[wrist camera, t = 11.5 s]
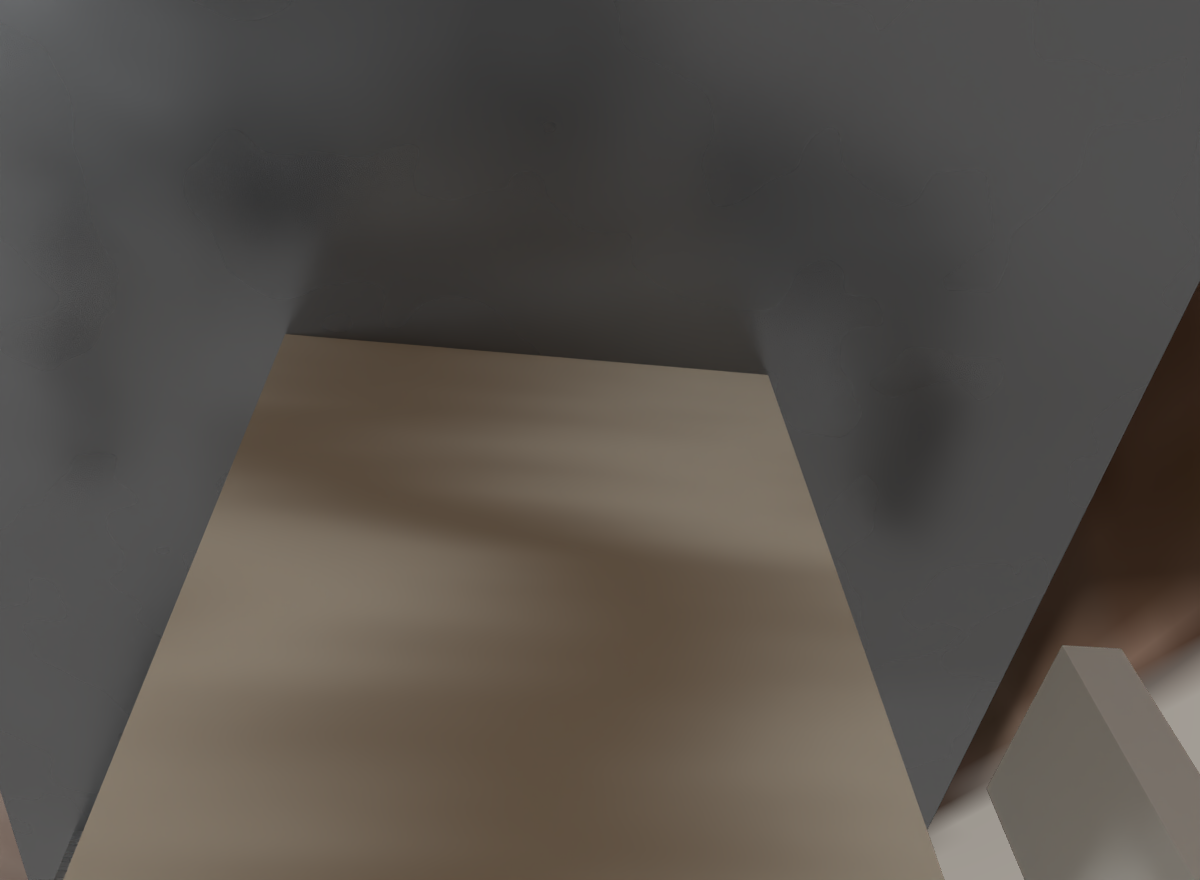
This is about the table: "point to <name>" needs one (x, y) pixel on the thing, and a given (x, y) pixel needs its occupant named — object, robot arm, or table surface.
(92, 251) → the base
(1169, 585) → the table surface
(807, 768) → the block
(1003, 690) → the table surface
